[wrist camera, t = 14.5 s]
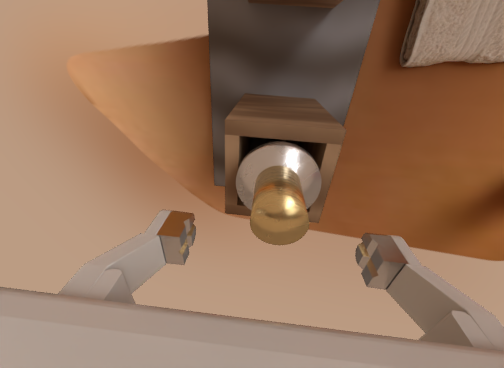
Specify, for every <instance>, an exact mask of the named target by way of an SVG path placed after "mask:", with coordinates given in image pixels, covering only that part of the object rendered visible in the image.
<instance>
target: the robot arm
mask: <svg viewBox="0 0 504 368" xmlns="http://www.w3.org/2000/svg"><path fill="white" fill-rule="evenodd" d="M194 220H195V218H194V214H193V213H187V212H179V211H170V210H161V211H160V212H159V213H158V214H157V216H156V217H155V219H154V220H153V221H152V223H151V224H150V226H149V227H148V229H147V230H146V231H145V233H144V234H141V233H140V234H139V235H137V236H135V237H133V238H132V239H130V240H128V241H126V242H124V243H122V244H120V245H118V246H117V247H115V248H113V249H111V250H109V251H107V252H106V253H104V254H102V255H100V256H98V257H96V258H95V259H93V260H91V261H89V262H87V263H85V264H84V265H83V266H82V267H81V269H79V271H78V272H77V273H76V274H75V275H74V276H73V277H72V278H71V280H70V281H69V282H68V283H67V284H66V285H65V286H64V287H63V289H62V290H61V291H60V292H59V293H58V294H51V293H44V292H36V291H28V290H21V289H12V288H5V287H0V368H504V327H503V325H502V324H501V323H500V322H499V320H498V319H497V318H496V317H495V316H494V315H493V314H492V313H490V312H489V311H488V310H486V309H485V308H484V307H482V306H481V305H479V304H478V303H476V302H475V301H473V300H472V299H471V298H469V297H468V296H467V295H465V294H464V293H462V292H461V291H460V290H458V289H457V288H455V287H454V286H452V285H451V284H450V283H448V282H447V281H445V280H444V279H443V278H441V277H440V276H438V275H437V274H435V273H434V272H433V271H431V270H430V269H429V268H427V267H425V266H422V265H421V264H420V262H419V261H418V259H417V258H416V257H415V255H414V254H413V252H412V251H411V249H410V248H409V246H408V245H407V244H406V242H405V241H404V239H403V238H402V237H400V236H394V235H383V234H373V233H365V234H364V235H363V236H362V238H361V239H362V241H363V242H362V243H361V244H359V245H358V246H357V248H356V255H355V256H356V261H357V263H358V265H359V266H360V267H361V268H362V269H363V271H362V273H361V274H362V276H363V279H364V281H365V284H366V286H367V287H371V288H378V289H384V290H386V291H387V292H388V293H389V294H390V295H391V297H393V299H394V300H395V301H396V302H397V303H398V304H399V305H400V306H401V307H402V308H403V309H404V311H405V312H406V313H407V314H408V315H409V316H410V317H411V318H412V319H413V320H414V321H415V322H416V323H417V325H418V326H419V327H420V328H421V329H422V330H423V331H424V332H425V335H423V336H422V337H421V338H420V339H419V340H413V339H405V338H397V337H390V336H382V335H374V334H366V333H358V332H350V331H343V330H335V329H327V328H318V327H311V326H303V325H295V324H288V323H279V322H272V321H264V320H255V319H248V318H239V317H232V316H224V315H216V314H208V313H201V312H193V311H185V310H176V309H169V308H161V307H153V306H146V305H145V306H144V305H138V304H135V301H134V299H133V297H132V295H131V294H132V293H133V292H134V291H135V290H136V289H138V288H139V287H140V286H141V285H142V284H143V283H145V282H146V281H147V280H148V279H149V278H151V277H152V276H153V275H154V274H155V273H156V272H157V271H159V270H160V269H161V268H162V267H163V266H164V265H166V263H170V264H180V265H184V264H185V262H186V259H187V257H188V255H189V247H191V246H192V245H193V242H194V239H195V235H196V227H195V225H194V224H193V222H194Z"/></svg>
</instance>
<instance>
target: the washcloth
mask: <svg viewBox="0 0 504 368" xmlns="http://www.w3.org/2000/svg"><path fill="white" fill-rule="evenodd" d="M446 61H456V62H457V61H465V62H467V63H495V62H504V0H416V3H415V7H414V9H413V13H412V16H411V20H410V23H409V26H408V28H407V32H406V35H405V38H404V42H403V46H402V49H401V53H400V64H401V66H402V67H405V66H406V67H409V68H410V67H417V66H426V65H427V66H429V65H433V64H437V63H442V62H446Z"/></svg>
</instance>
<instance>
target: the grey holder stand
mask: <svg viewBox="0 0 504 368" xmlns="http://www.w3.org/2000/svg"><path fill="white" fill-rule="evenodd" d="M207 2H208V26H209V27H208V28H209V54H210V80H211V106H212V132H213V158H214V184H215V185H216V186H225V213H227V214H237V215H246V216H251V210H250V209H249V208H248V207H246V206H245V204H244V203H243V202H242V201H241V199H240V197H239V195H238V193H237V189H236V176H237V172H238V169H239V166H240V164H241V162H242V160H243V159H244V157H245V156H246V155H247V154H248V153H249V152H250V151H251V150H253V149H254V148H256V147H258V146H260V145H262V144H265V143H268V138H270V139H281V140H285V142H289V143H293V144H296V145H298V146H300V147H302V148H303V149H305V150H306V151H307V152H309V154H310V155H311V156H312V157H313V158H314V160H315V162H316V164H317V166H318V168H319V171H320V174H321V189H320V192H319V195H318V197H317V199H316V200H315V201H314V203H313V204H312V205H311V206H310V207H309V208H308V209H307V213H308V218H309V222H314V223H319V220H320V216H321V213H322V210H323V207H324V203H325V200H326V197H327V193H328V190H329V187H330V183H331V180H332V177H333V173H334V170H335V167H336V164H337V160H338V157H339V154H340V150H341V147H342V144H343V140H344V137H345V134H346V131H347V130H346V129H345V128H344V127H343V125H344V122H345V119H346V115H347V112H348V108H349V105H350V101H351V98H352V95H353V91H354V88H355V84H356V81H357V77H358V74H359V71H360V67H361V64H362V60H363V57H364V53H365V50H366V47H367V43H368V40H369V36H370V33H371V29H372V26H373V22H374V19H375V16H376V12H377V9H378V5H379V2H380V0H208V1H207Z"/></svg>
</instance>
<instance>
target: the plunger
mask: <svg viewBox="0 0 504 368" xmlns="http://www.w3.org/2000/svg"><path fill="white" fill-rule="evenodd" d="M236 189H237V193H238V195H239V197H240V199H241V201H242V202H243V203H244V204H245V206H246V207H248V208H249V209H250V210H251V218H250V226H251V230H252V231H253V233H254V234H255V235H256V236H257V237H258V238H259V239H261V240H262V241H264V242H266V243H269V244H273V245H286V244H291V243H294V242H296V241H298V240H299V239H301V238H302V237H303V236H304V235H305V234H306V232H307V230H308V228H309V218H308V213H307V209H308V208H309V207H310V206H311V205H312V204H313V203H314V201H315V200H316V199H317V197H318V195H319V192H320V189H321V174H320V171H319V168H318V166H317V164H316V162H315V160H314V158H313V157H312V156H311V155H310V154H309V152H307V151H306V150H305V149H303V148H302V147H300V146H298V145H296V144H293V143H289V142H285V140H281V139H270V138H268V143H265V144H262V145H260V146H258V147H256V148H254V149H253V150H251V151H250V152H249V153H248V154H247V155H246V156H245V157H244V159H243V160H242V162H241V164H240V166H239V169H238V172H237V176H236Z"/></svg>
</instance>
